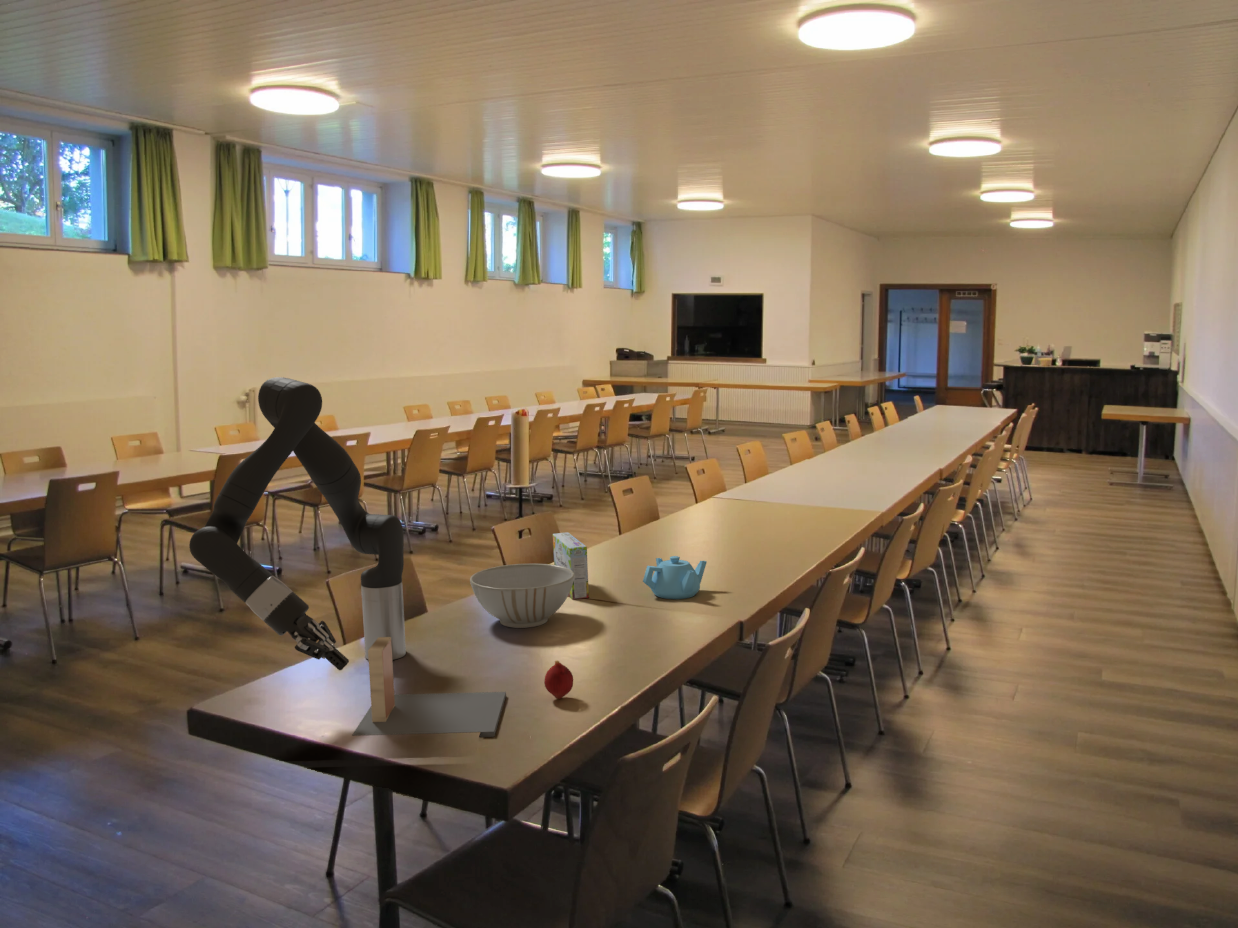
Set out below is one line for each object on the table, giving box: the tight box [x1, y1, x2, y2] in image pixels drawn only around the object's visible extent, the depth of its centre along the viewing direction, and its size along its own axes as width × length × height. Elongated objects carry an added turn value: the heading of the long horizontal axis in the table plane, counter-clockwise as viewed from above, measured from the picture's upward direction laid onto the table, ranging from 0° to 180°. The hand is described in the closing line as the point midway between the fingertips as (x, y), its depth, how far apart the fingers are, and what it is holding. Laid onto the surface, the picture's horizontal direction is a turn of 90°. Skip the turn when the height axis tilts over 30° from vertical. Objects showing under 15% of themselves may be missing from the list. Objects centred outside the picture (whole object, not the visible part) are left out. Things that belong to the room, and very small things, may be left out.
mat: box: [351, 691, 507, 738], centre depth 185 cm, size 20×26×1 cm
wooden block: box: [368, 637, 395, 722], centre depth 184 cm, size 8×3×14 cm, turn 1°
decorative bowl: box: [469, 563, 575, 629], centre depth 247 cm, size 27×27×12 cm
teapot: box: [642, 555, 708, 600], centre depth 270 cm, size 15×15×11 cm
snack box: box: [552, 531, 590, 601], centre depth 276 cm, size 21×6×15 cm, turn 17°
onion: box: [543, 659, 574, 700], centre depth 192 cm, size 6×6×8 cm
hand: (345, 665), depth 183 cm, fingers closed
